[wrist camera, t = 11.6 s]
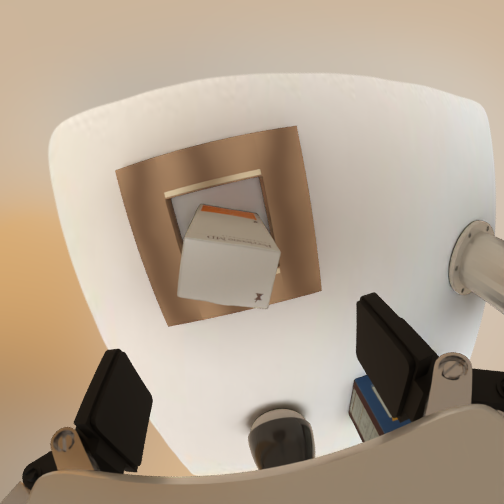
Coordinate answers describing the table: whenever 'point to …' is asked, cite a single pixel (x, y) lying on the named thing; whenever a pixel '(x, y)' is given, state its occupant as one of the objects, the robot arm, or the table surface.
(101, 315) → the table surface
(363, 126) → the table surface
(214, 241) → the skincare box
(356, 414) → the protein box
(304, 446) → the pump dispenser
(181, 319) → the wooden square frame
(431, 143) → the table surface
